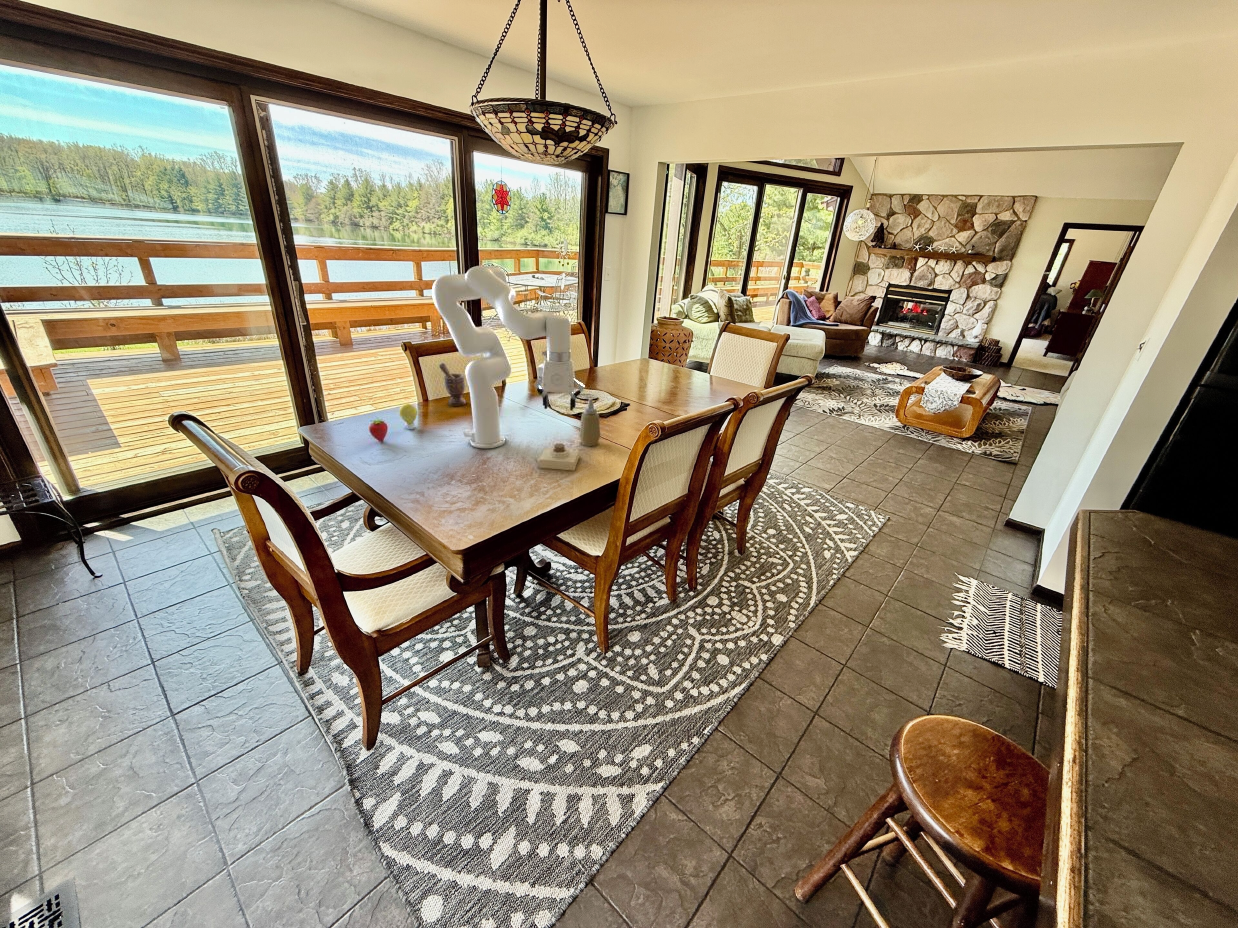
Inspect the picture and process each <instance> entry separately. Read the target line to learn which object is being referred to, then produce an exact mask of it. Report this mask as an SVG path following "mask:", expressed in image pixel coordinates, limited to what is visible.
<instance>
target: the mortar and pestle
mask: <svg viewBox="0 0 1238 928" xmlns="http://www.w3.org/2000/svg"><path fill="white" fill-rule="evenodd" d="M438 367H439V368H440V371H441V372H442V373H443V374H444V376H443V380H444V381H443V382H444V386H445V387H444V388H445V390H446V392H447V394H448V395H450V399H449V400H448V405H450V406H452V407H461V406H463V405H466V404H467V403H466V402H467V401H466V400H465V398H464V397H462V396H463V394H464V393H465V388H466V382H465V374H464V373H455V372H454V373H451V371H450V369H449V367H448V366H447V365H446V363H444V362H442V363H440V364H439V366H438Z"/></svg>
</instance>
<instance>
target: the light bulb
mask: <svg viewBox="0 0 1238 928" xmlns="http://www.w3.org/2000/svg"><path fill="white" fill-rule="evenodd" d="M398 414H399V416H400V418H401V419H402V420H403V421H404V422H405V427H406V429H407V430H414V429H415V422H414V421H415V420H416V418H417V416H418V409H417V407H416V406H415V405H413V404H411V403H404V404H403V405H401V406H400V407H399V409H398Z"/></svg>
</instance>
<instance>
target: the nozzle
mask: <svg viewBox="0 0 1238 928" xmlns="http://www.w3.org/2000/svg"><path fill="white" fill-rule="evenodd" d="M553 447H554V451H555V452H564V451H565V447H566V446H565V444H564V443H555V444H554V445H553Z"/></svg>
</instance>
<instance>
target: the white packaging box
mask: <svg viewBox="0 0 1238 928" xmlns="http://www.w3.org/2000/svg"><path fill="white" fill-rule="evenodd" d="M543 365H544V363H541V364H540V365H538V366H537V381H538V380H539V379H541V378H543ZM539 386H540V387H541V388H542V383H541V384H539ZM542 389H543V388H542Z"/></svg>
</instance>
